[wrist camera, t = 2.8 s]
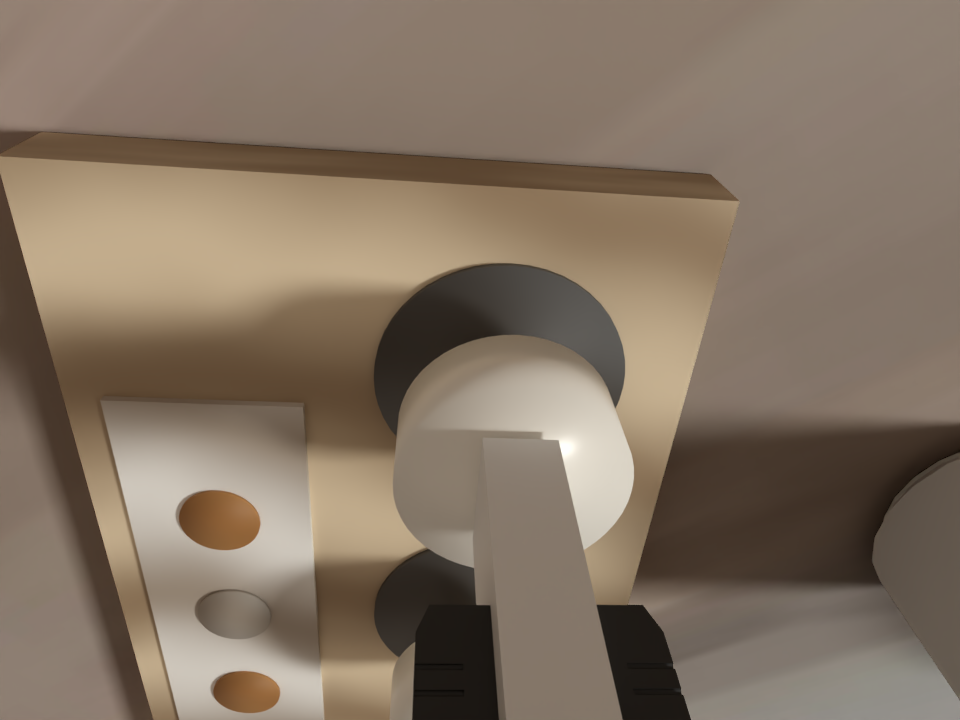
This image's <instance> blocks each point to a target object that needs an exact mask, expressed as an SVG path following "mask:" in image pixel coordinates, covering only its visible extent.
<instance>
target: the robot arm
mask: <svg viewBox="0 0 960 720" xmlns="http://www.w3.org/2000/svg"><path fill="white" fill-rule="evenodd" d="M473 555H474V574H475V593H476V605H431V604H429V606H428V608H427V610H426V612H425V614H424V616H423V618H422V620H421V622H420V624H419V626H418V628H417V630H416V634H415V656H414V678H413V704H412V720H691V718H690V715H689V712H688V709H687V706H686V702H685V699H684V696H683V695H682V694H681V687H680V683H679V680H678V677H677V674H676V671H675V669H673V661H672V658H671V655H670V652H669V648H668V645H667V642H666V639H665V636H664V632H663V631H662V630H661V628H660V627H659V626H658V624H657V623H656V622H655V621H654V619H653V618H652V617H651V615H650V614H649V613H648V611H647V610H646V609H645V607H644V606H643V605H596V601H595V597H594V592H593V588H592V584H591V579H590V575H589V570H588V566H587V562H586V557H585V553H584V549H583V544H582V540H581V536H580V531H579V527H578V522H577V518H576V514H575V509H574V505H573V501H572V496H571V492H570V488H569V483H568V479H567V474H566V470H565V466H564V461H563V457H562V453H561V448H560V444H559V440H541V439H508V438H483V439H482V449H481V459H480V469H479V479H478V489H477V499H476V509H475V519H474V529H473Z"/></svg>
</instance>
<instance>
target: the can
mask: <svg viewBox="0 0 960 720" xmlns="http://www.w3.org/2000/svg"><path fill="white" fill-rule="evenodd" d="M872 563H873V565H874V568H875V570H876V572H877V575H878V577H879V580H880V582H881V583H882V585H883V586H884V588H885V589H886V591H887V592H888V594H889V595H890V597H891V598H892V600H893V601H894V603H895V604H896V606H897V607H898V609H899V610H900V612H901V613H902V615H903V616H904V618H905V619H906V621H907V622H908V624H909V625H910V627H911V628H912V630H913V631H914V632H915V634H916V635H917V637H918V638H919V640H920V641H921V643H922V644H923V646H924V647H925V649H926V650H927V652H928V653H929V655H930V656H931V658H932V659H933V661H934V662H935V664H936V665H937V667H938V668H939V670H940V671H941V673H942V674H943V676H944V677H945V679H946V680H947V682H948V683H949V685H950V686H951V688H952V689H953V691H954V692H955V694H956V695H957V697H958V698H959V700H960V452H959V453H957V454H954V455H952V456H949V457H947V458H945V459H942V460H940V461H938V462H936V463H935V464H933V465H932V466H930V467H929V468H927V469H926V470H924V471H923V472H921V473H920V474H918V475H917V476H915V477H914V478H913V479H912V480H911V481H910V482H909V483H908V484H907V485H906V486H905V487H904V488H903V489H902V490H901V491H900V492H899V493H898V494H897V495H896V496H895V498H894V500H893V502H892V503H891V505H890V507H889V509H888V511H887V513H886V514H885V516H884V521H883V523H882V525H881V527H880V529H879V530H878V532H877V534H876V536H875V539H874V548H873V556H872Z"/></svg>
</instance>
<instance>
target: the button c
mask: <svg viewBox="0 0 960 720" xmlns="http://www.w3.org/2000/svg"><path fill="white" fill-rule="evenodd" d="M483 438H508V439H541V440H559V444H560V448H561V453H562V457H563V461H564V466H565V470H566V474H567V479H568V483H569V488H570V492H571V496H572V501H573V505H574V509H575V514H576V518H577V522H578V527H579V531H580V536H581V540H582V544H583V549H584V550H585V549H586V548H588V547H589V546H591V545H592V544H594V543H595V542H596V541H598V540H599V539H600V538H601V537H602V536H603V535H605V534H606V533H607V532H608V531H609V530H610V528H611V527H612V526H613V525H614V524H615V523H616V521H617V520H618V519H619V517H620V516H621V514H622V513H623V511H624V509H625V507H626V505H627V503H628V501H629V498H630V495H631V492H632V487H633V481H634V464H633V459H632V454H631V451H630V448H629V446H628V443H627V440H626V437H625V435H624V432H623V429H622V426H621V424H620V421H619V418H618V415H617V412H616V410H615V407H614V404H613V401H612V399H611V396H610V393H609V390H608V388H607V386H606V384H605V382H604V381H603V379H602V377H601V376H600V374H599V373H598V372H597V371H596V369H595V368H594V367H593V366H592V365H591V364H590V363H589V362H588V361H586V360H585V359H584V358H583V357H581V356H580V355H579V354H577V353H576V352H574V351H573V350H571V349H569V348H567V347H565V346H563V345H561V344H558V343H555V342H552V341H550V340H547V339H542V338H538V337H533V336H524V335H499V336H491V337H485V338H481V339H477V340H473V341H470V342H467V343H464V344H462V345H459V346H457V347H455V348H453V349H451V350H449V351H447V352H445V353H444V354H442V355H441V356H439V357H438V358H436V359H435V360H433V361H432V362H431V363H430V364H429V365H428V366H426V367H425V368H424V369H423V370H422V371H421V372H420V373H419V375H418V376H417V377H416V378H415V379H414V381H413V382H412V384H411V385H410V387H409V388H408V390H407V392H406V394H405V396H404V399H403V401H402V404H401V407H400V411H399V417H398V427H397V438H396V450H395V462H394V474H393V496H394V500H395V504H396V508H397V510H398V513H399V515H400V517H401V519H402V521H403V523H404V524H405V526H406V527H407V529H408V530H409V531H410V532H411V533H412V535H413V536H414V537H415V538H416V539H417V540H418V541H420V542H421V543H422V544H423V545H424V546H425V547H427V548H428V549H430V550H431V551H433V552H434V553H436V554H438V555H440V556H442V557H444V558H446V559H448V560H450V561H453V562H455V563H458V564H461V565H465V566H468V567H472V568H474V555H473V529H474V519H475V509H476V499H477V489H478V479H479V469H480V459H481V449H482V439H483Z"/></svg>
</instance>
